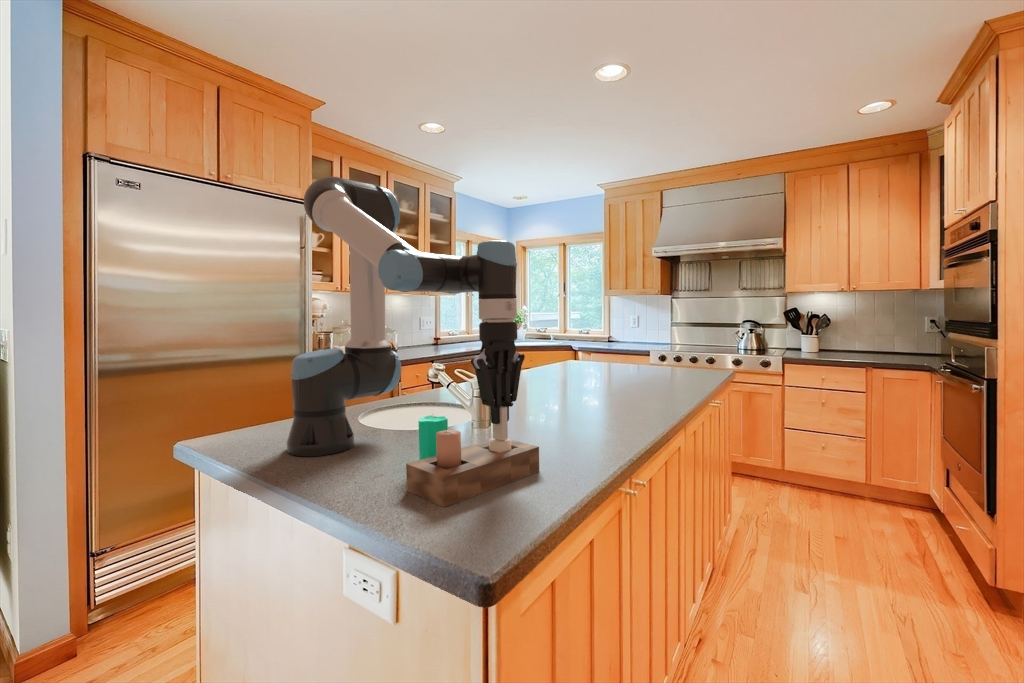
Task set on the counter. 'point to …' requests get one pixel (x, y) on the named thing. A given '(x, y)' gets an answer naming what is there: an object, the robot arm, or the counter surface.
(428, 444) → the candle
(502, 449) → the knob far
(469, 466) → the mount
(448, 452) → the knob near
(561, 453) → the counter surface
